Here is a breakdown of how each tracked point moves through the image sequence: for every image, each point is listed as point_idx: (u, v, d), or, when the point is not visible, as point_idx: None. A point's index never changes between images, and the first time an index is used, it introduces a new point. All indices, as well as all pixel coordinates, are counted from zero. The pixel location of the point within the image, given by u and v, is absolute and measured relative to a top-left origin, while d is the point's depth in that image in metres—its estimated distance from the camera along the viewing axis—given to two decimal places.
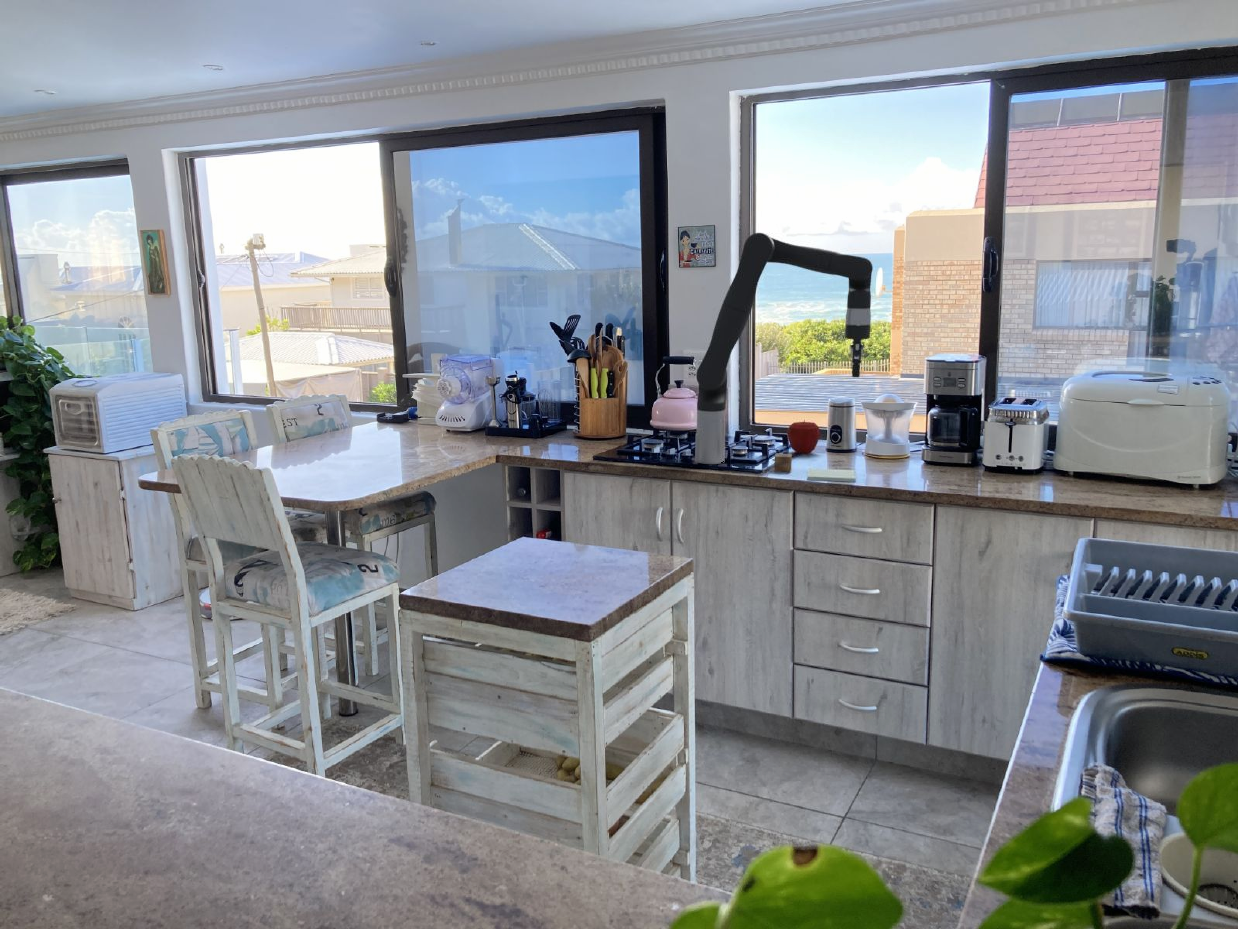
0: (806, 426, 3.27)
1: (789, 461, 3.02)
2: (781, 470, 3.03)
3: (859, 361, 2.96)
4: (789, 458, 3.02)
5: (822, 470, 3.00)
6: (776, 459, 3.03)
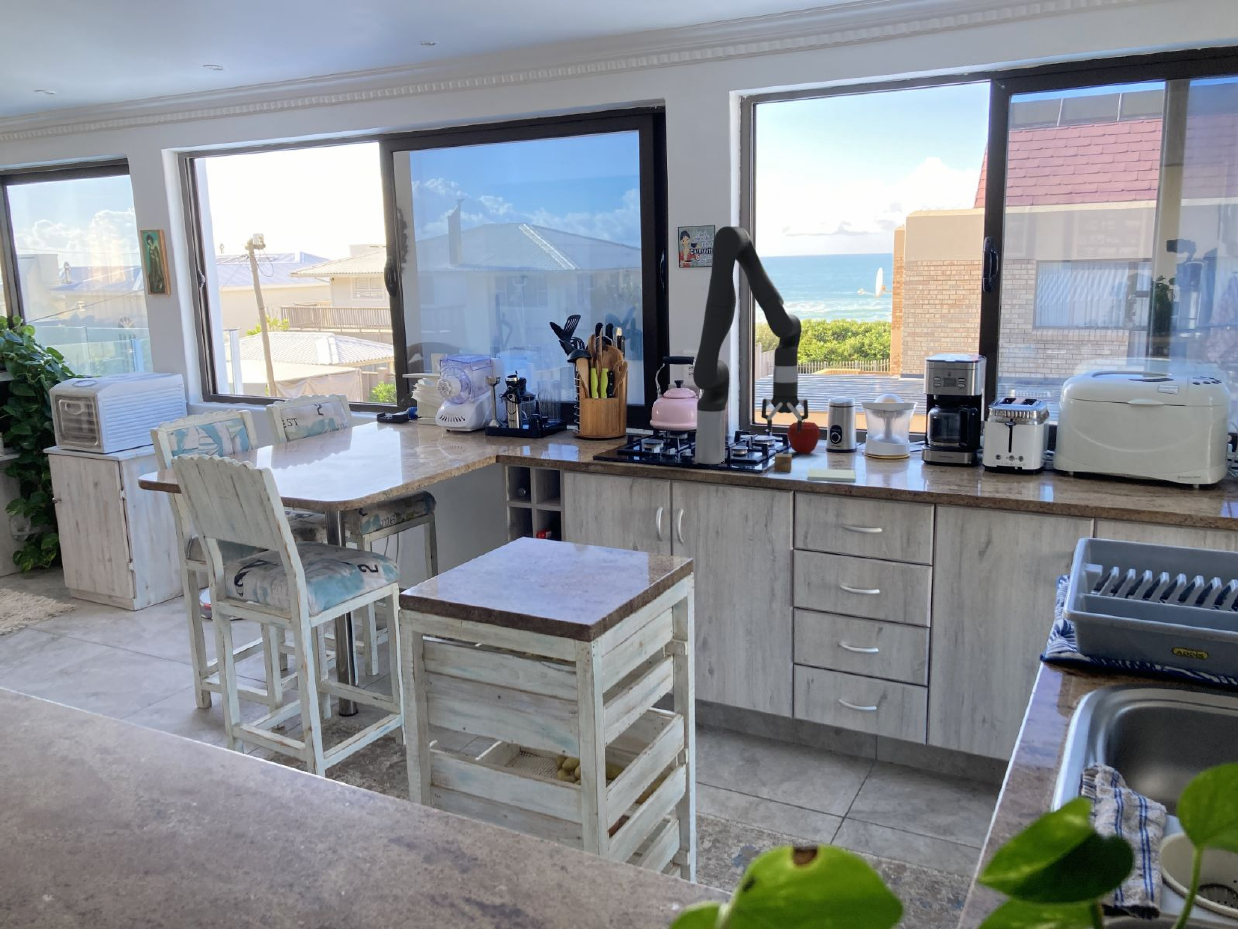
0: (806, 426, 3.27)
1: (789, 461, 3.02)
2: (781, 470, 3.03)
3: None
4: (789, 458, 3.02)
5: (822, 470, 3.00)
6: (776, 459, 3.03)
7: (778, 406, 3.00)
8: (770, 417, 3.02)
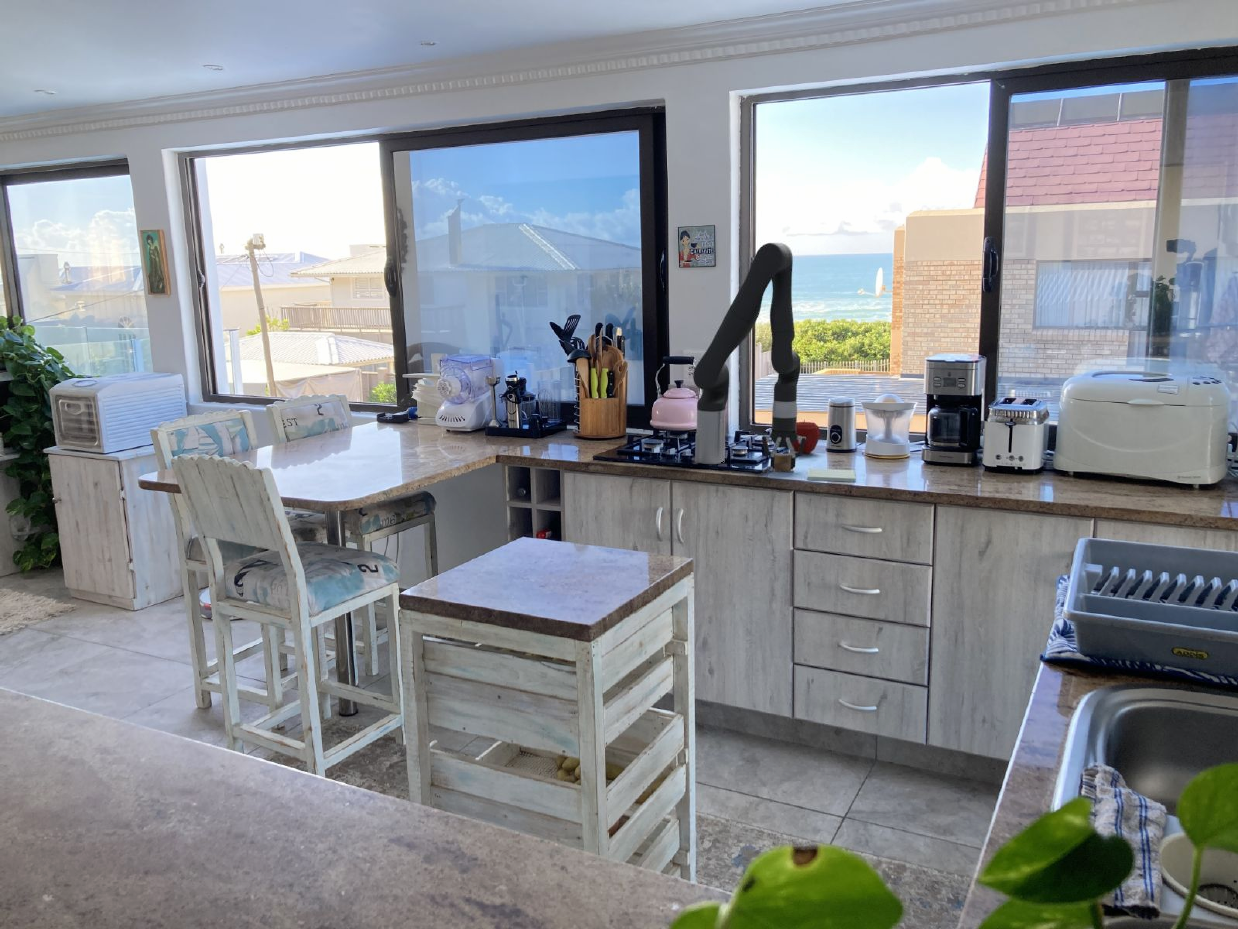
0: (806, 426, 3.27)
1: (789, 461, 3.02)
2: (781, 470, 3.03)
3: None
4: (789, 458, 3.02)
5: (822, 470, 3.00)
6: (776, 459, 3.03)
7: (778, 441, 3.02)
8: (773, 454, 3.04)
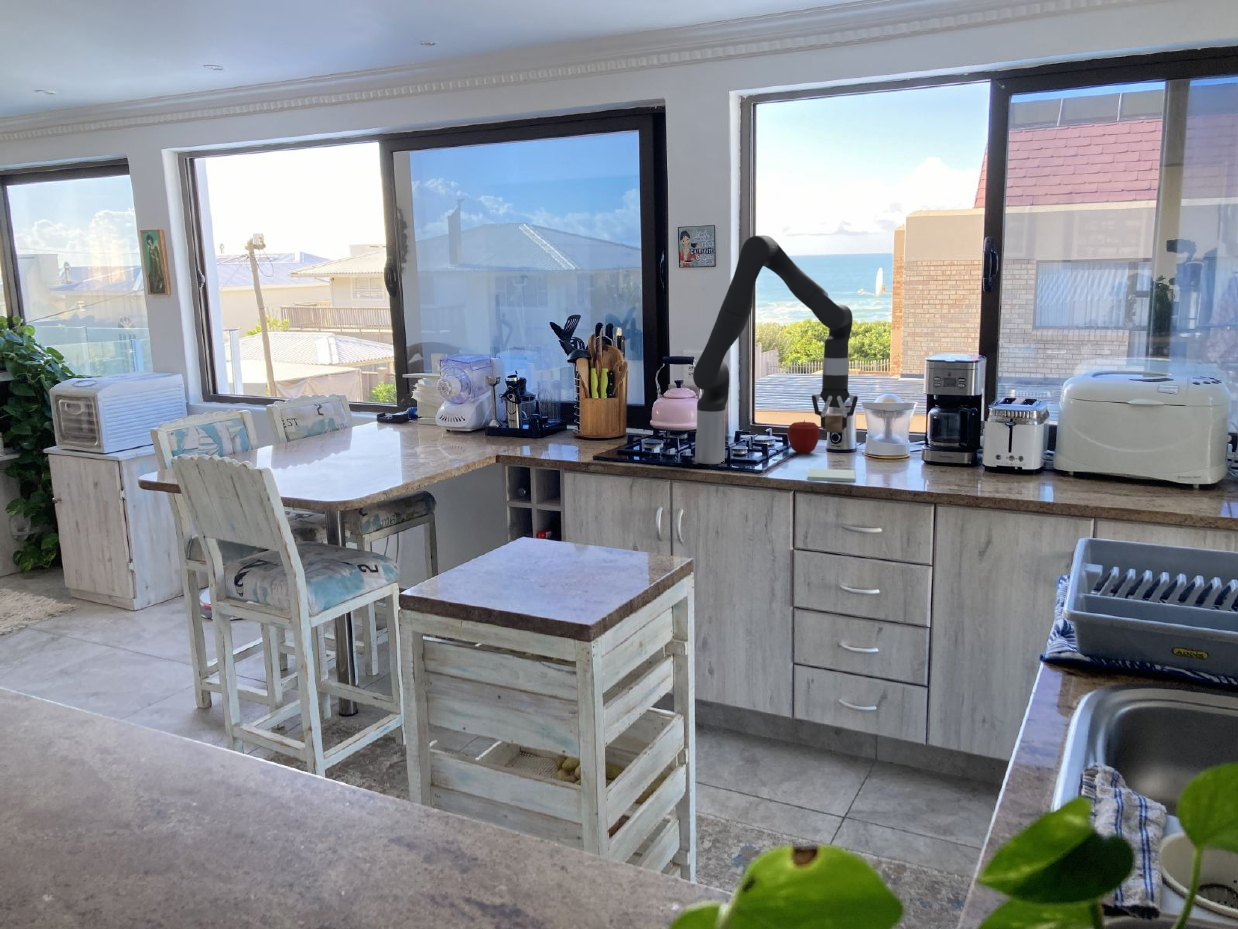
0: (806, 426, 3.27)
1: (840, 420, 2.90)
2: (832, 430, 2.91)
3: None
4: (840, 417, 2.90)
5: (822, 470, 3.00)
6: (827, 418, 2.91)
7: (828, 400, 2.90)
8: (824, 414, 2.92)
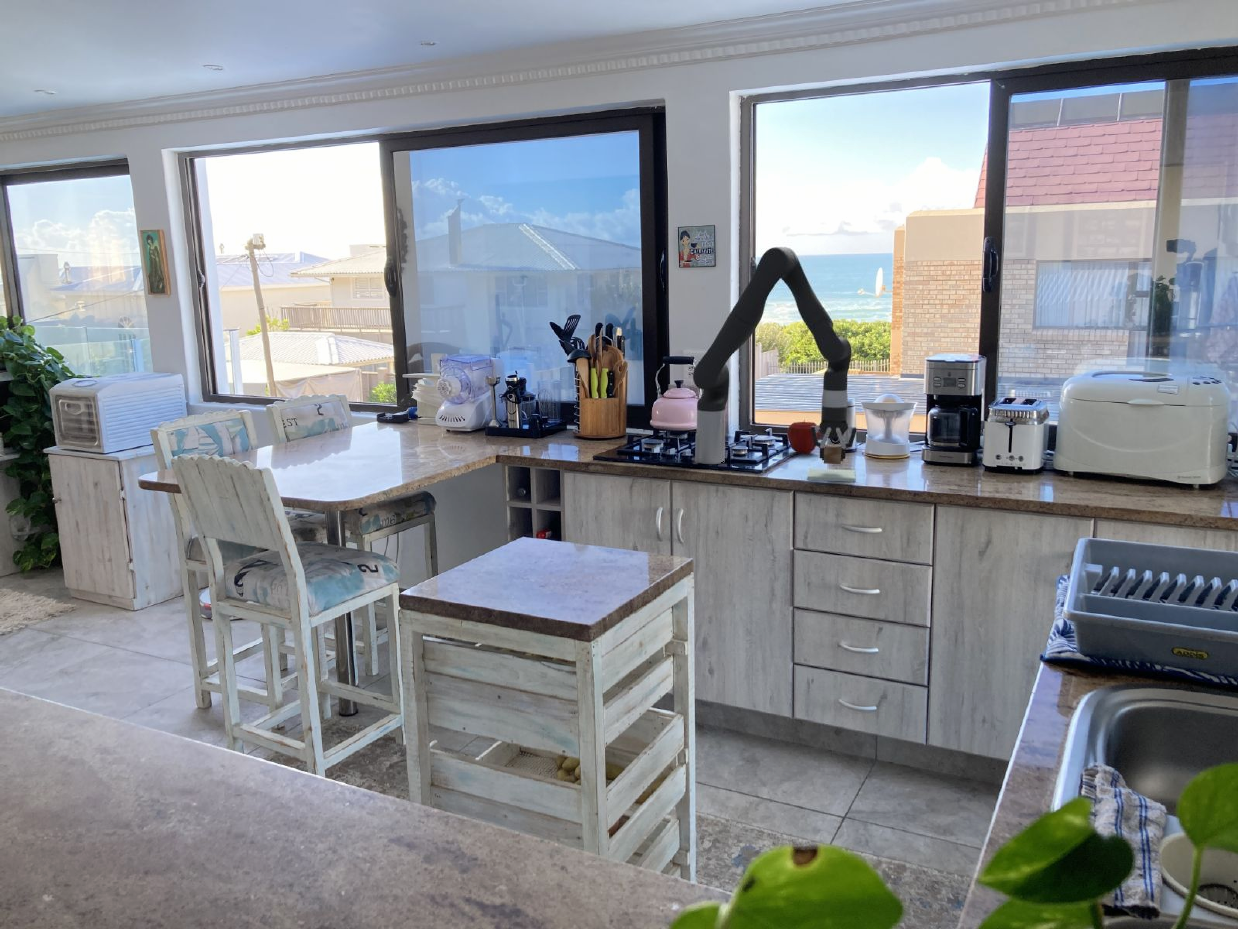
0: (806, 426, 3.27)
1: (839, 452, 2.92)
2: (831, 461, 2.93)
3: None
4: (839, 449, 2.92)
5: (822, 470, 3.00)
6: (826, 450, 2.93)
7: (827, 432, 2.92)
8: (823, 445, 2.94)
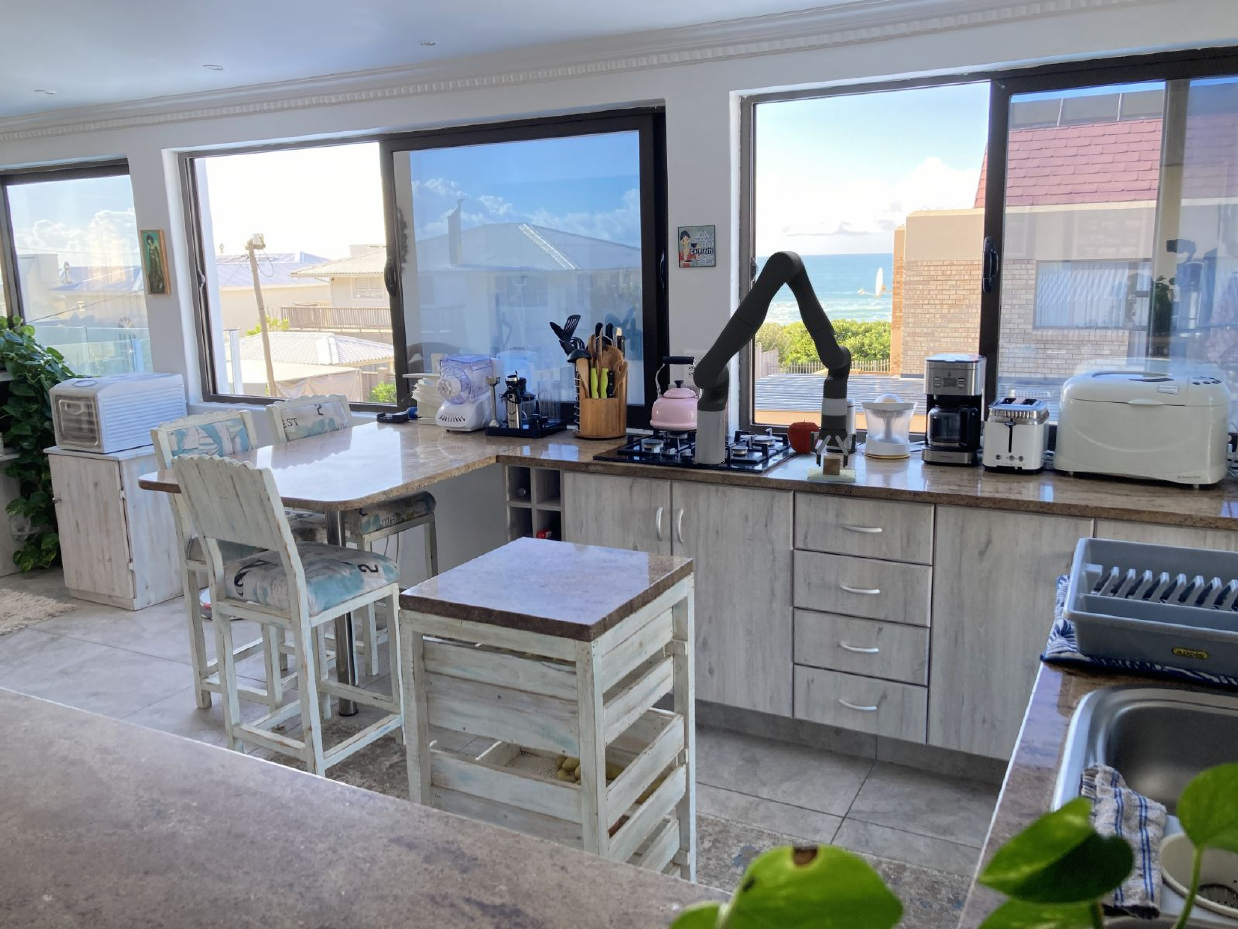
0: (806, 426, 3.27)
1: (838, 463, 2.93)
2: (830, 472, 2.94)
3: None
4: (838, 460, 2.92)
5: (822, 470, 3.00)
6: (825, 461, 2.93)
7: (826, 439, 2.93)
8: (820, 451, 2.94)
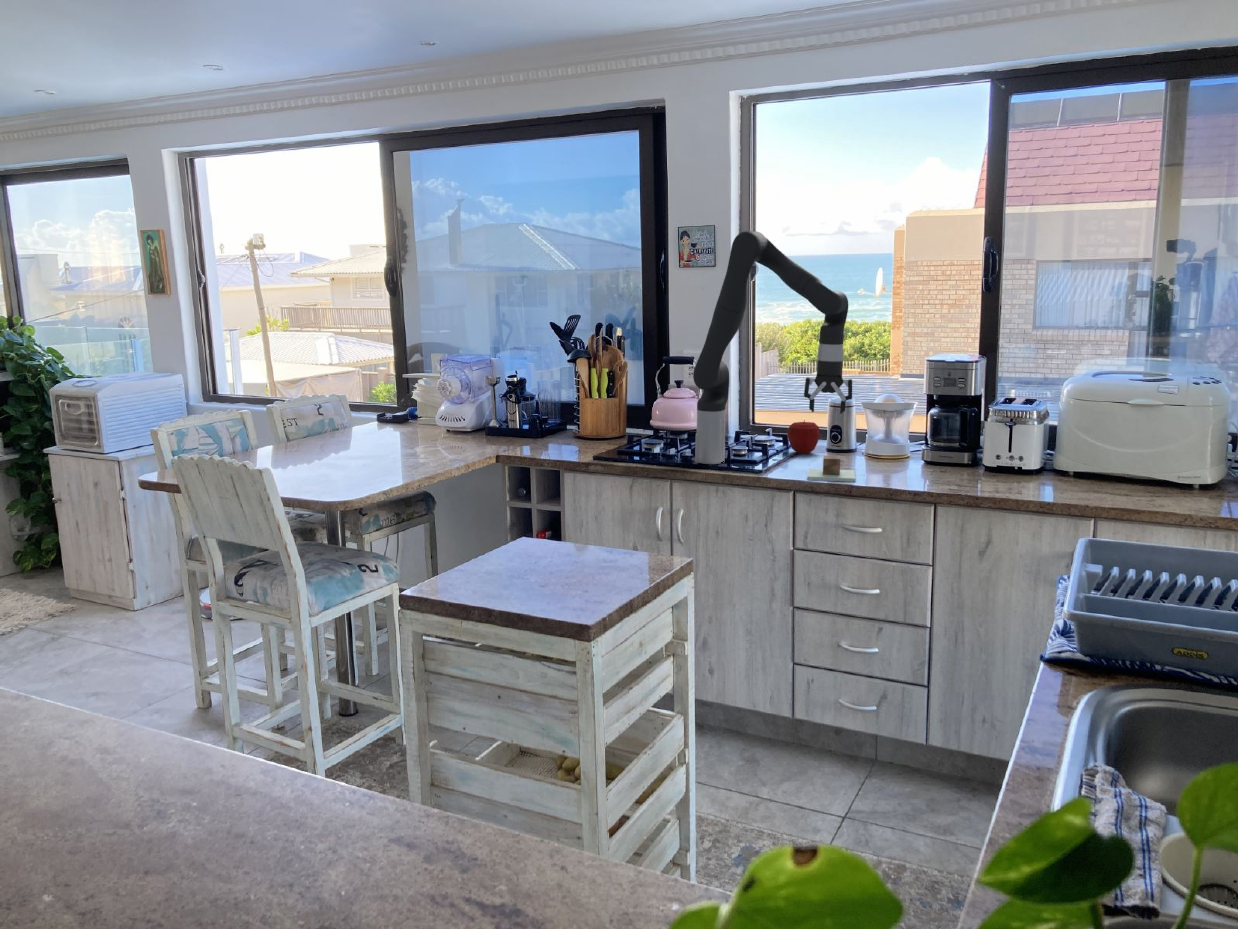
0: (806, 426, 3.27)
1: (838, 463, 2.93)
2: (830, 472, 2.94)
3: None
4: (838, 460, 2.92)
5: (822, 470, 3.00)
6: (825, 461, 2.93)
7: (822, 385, 2.92)
8: (813, 396, 2.94)
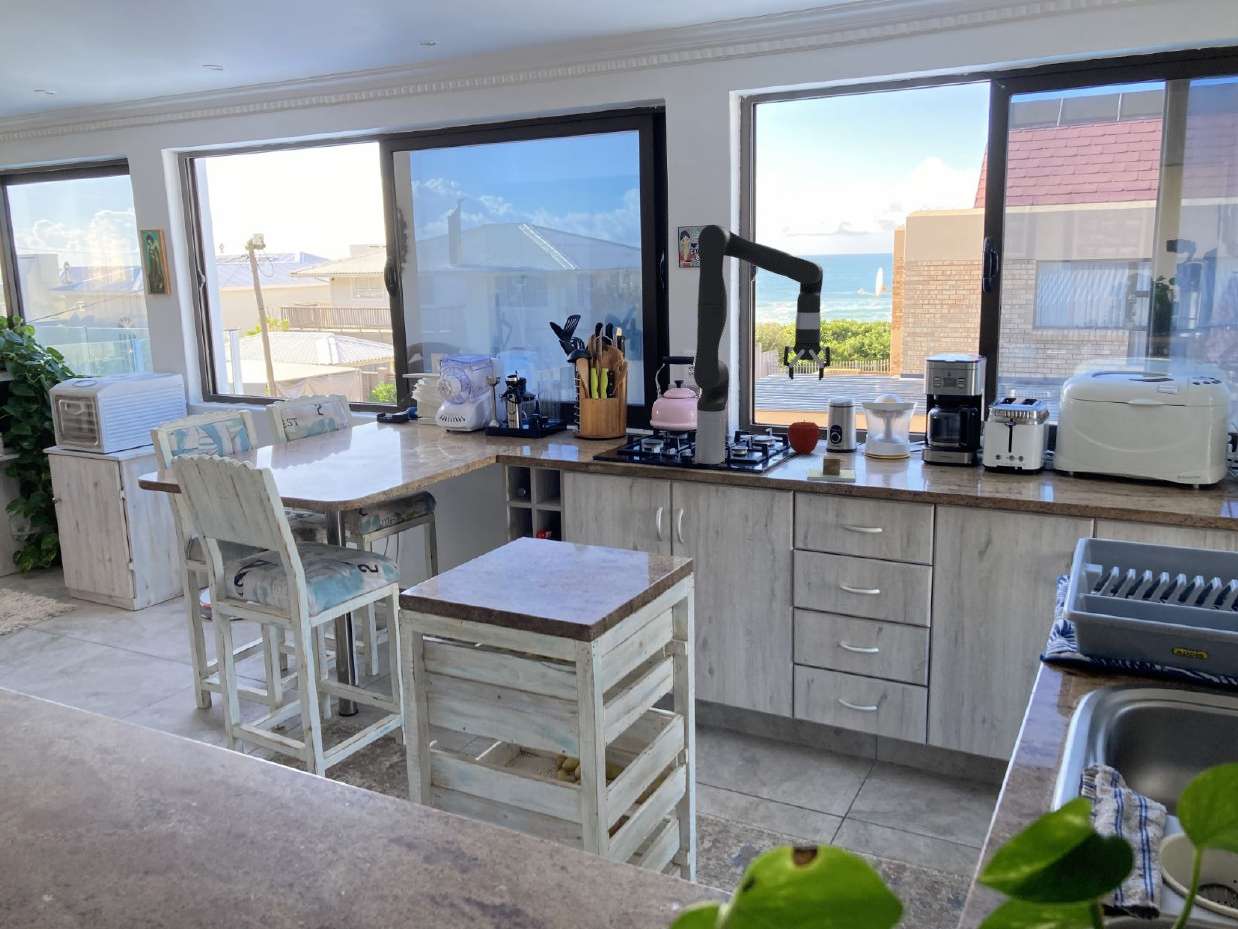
0: (806, 426, 3.27)
1: (838, 463, 2.93)
2: (830, 472, 2.94)
3: None
4: (838, 460, 2.92)
5: (822, 470, 3.00)
6: (825, 461, 2.93)
7: (800, 353, 3.00)
8: (792, 364, 3.02)
